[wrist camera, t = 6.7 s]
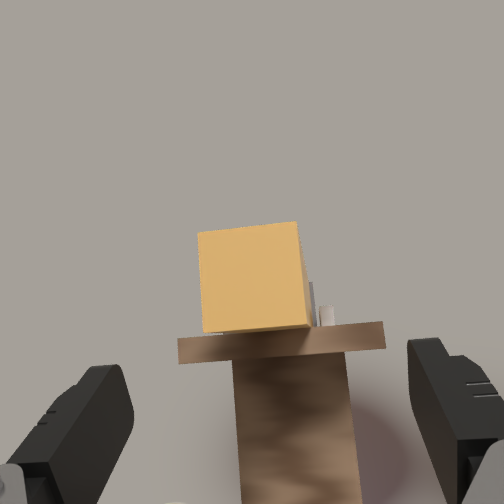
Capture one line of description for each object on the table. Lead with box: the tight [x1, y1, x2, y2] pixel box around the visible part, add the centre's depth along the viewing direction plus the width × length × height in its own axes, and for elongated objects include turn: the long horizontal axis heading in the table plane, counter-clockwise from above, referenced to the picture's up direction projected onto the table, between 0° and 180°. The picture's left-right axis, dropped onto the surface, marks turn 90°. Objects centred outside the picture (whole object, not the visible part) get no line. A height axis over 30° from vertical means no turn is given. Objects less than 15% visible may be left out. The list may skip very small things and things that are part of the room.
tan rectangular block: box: [198, 221, 317, 333], centre depth 28 cm, size 5×23×4 cm, turn 171°
